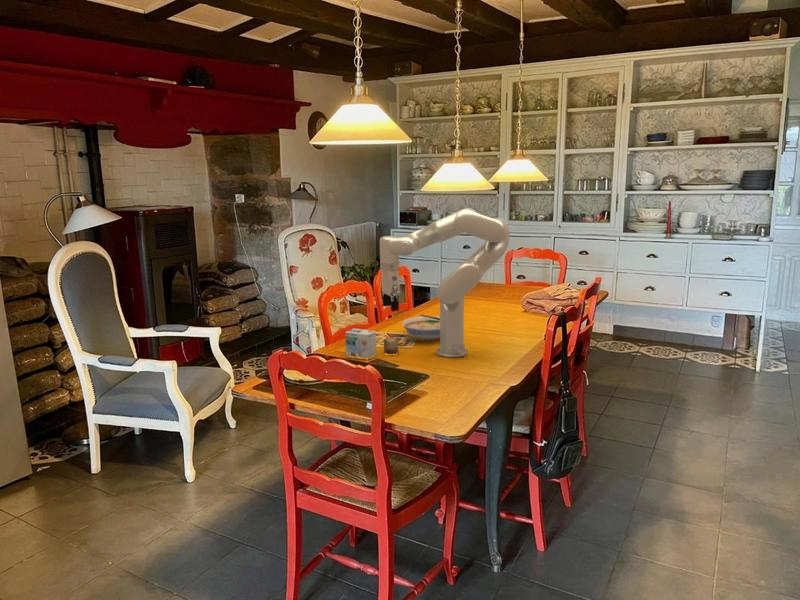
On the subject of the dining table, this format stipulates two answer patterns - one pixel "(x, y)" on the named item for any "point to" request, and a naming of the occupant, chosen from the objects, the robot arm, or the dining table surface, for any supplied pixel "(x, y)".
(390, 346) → the walnut cylinder
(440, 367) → the dining table surface
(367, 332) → the light bulb box
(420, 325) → the ramen bowl
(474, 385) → the dining table surface
